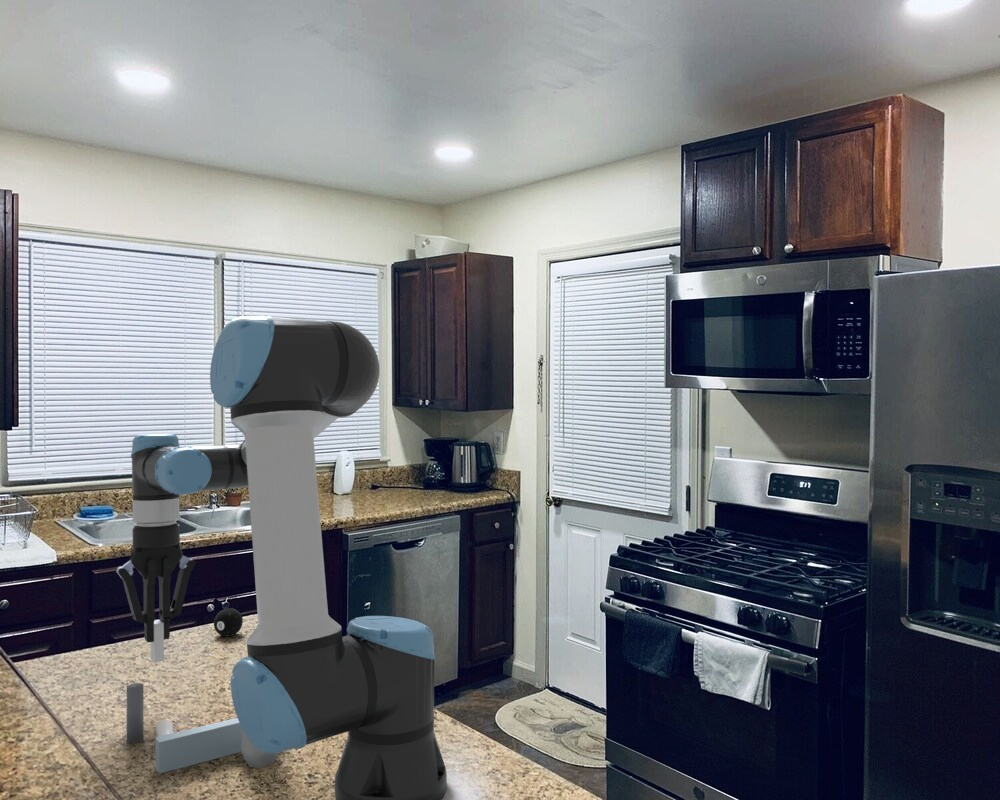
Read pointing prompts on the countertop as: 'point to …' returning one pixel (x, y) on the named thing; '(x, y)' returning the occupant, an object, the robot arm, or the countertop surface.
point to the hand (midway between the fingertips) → (157, 659)
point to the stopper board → (197, 745)
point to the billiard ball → (228, 622)
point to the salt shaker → (255, 754)
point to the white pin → (164, 728)
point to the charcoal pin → (135, 713)
